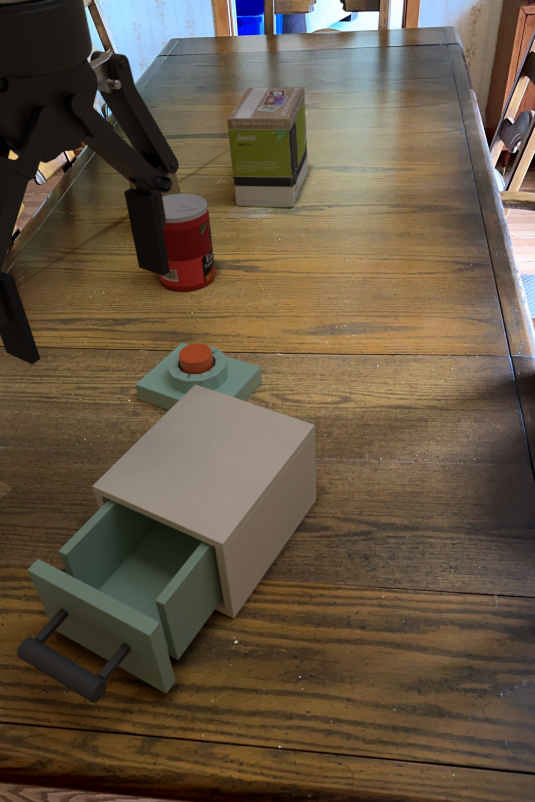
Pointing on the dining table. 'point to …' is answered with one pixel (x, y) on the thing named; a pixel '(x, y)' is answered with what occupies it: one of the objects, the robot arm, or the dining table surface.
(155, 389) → the panel
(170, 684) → the drawer
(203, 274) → the canned food
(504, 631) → the dining table surface
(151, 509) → the grey box-shaped casing
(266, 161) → the tea box
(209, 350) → the button
